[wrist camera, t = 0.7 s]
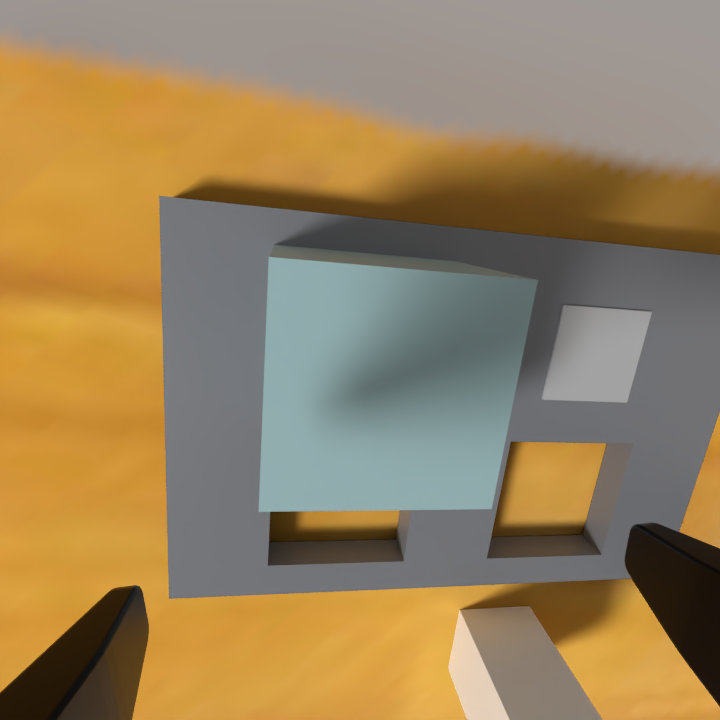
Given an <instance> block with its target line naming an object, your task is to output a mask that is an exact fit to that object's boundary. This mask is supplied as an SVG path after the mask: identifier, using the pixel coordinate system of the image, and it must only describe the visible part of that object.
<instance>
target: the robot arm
mask: <svg viewBox="0 0 720 720" xmlns="http://www.w3.org/2000/svg"><path fill="white" fill-rule="evenodd" d="M624 561H625V567H626V569H627V572H628V574H629V575H630V577H631V578H632V580H633V582H634V583H635V585H636V586H637V588H638V589H639V591H640V593H641V594H642V596H643V597H644V599H645V600H646V602H647V603H648V605H649V607H650V608H651V610H652V611H653V613H654V614H655V616H656V618H657V619H658V621H659V622H660V624H661V625H662V627H663V629H664V630H665V632H666V633H667V635H668V636H669V638H670V639H671V641H672V642H673V644H674V645H675V647H676V648H677V650H678V651H679V653H680V654H681V656H682V657H683V658H684V660H685V661H686V662H687V664H688V665H689V667H690V668H691V669H692V671H693V672H694V673H695V674H696V676H697V677H698V678H699V680H700V681H701V682H702V684H703V685H704V686H705V688H706V689H707V690H708V692H709V693H710V694H711V696H712V697H713V698H714V700H715V701H716V702H717V704H718V705H719V706H720V549H719V548H717V547H714V546H712V545H710V544H707V543H705V542H702V541H700V540H697V539H695V538H692V537H690V536H687V535H685V534H683V533H680V532H678V531H675V530H673V529H670V528H668V527H665V526H663V525H660V524H658V523H654V522H649V523H641V524H635V525H633V526H632V528H631V529H630V532H629V537H628V542H627V548H626V553H625V559H624ZM148 634H149V624H148V618H147V613H146V608H145V602H144V597H143V592H142V590H141V588H140V587H139V586H137V585H134V586H126V587H118V588H114V589H112V590H111V591H109V592H108V593H107V594H106V595H105V596H104V597H103V598H102V599H101V600H100V601H98V602H97V603H96V604H95V605H94V606H93V607H92V608H91V609H90V610H89V611H88V612H87V613H86V614H84V615H83V616H82V617H81V618H80V619H79V620H78V621H77V622H76V623H75V624H74V625H73V626H71V627H70V628H69V629H68V630H67V631H66V632H65V633H64V634H63V635H62V636H61V637H60V638H59V639H57V640H56V641H55V642H54V643H53V644H52V645H51V646H50V647H49V648H48V649H47V650H46V651H45V652H43V653H42V654H41V655H40V656H39V657H38V658H37V659H36V660H35V661H34V662H33V663H32V664H31V665H29V666H28V667H27V668H26V669H25V670H24V671H23V672H22V673H21V674H20V675H19V676H18V677H17V678H15V679H14V680H13V681H12V682H11V683H10V684H9V685H8V686H7V687H6V688H5V689H4V690H3V691H1V692H0V720H132V717H133V712H134V707H135V702H136V697H137V692H138V687H139V682H140V677H141V672H142V667H143V662H144V657H145V652H146V647H147V642H148Z"/></svg>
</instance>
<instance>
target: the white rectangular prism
mask: <svg viewBox="0 0 720 720" xmlns="http://www.w3.org/2000/svg"><path fill="white" fill-rule="evenodd" d="M448 669H449V672H450V675H451V677H452V680H453V683H454V686H455V688H456V691H457V694H458V696H459V699H460V702H461V704H462V707H463V710H464V713H465V715H466V718H467V720H602V718H601V717H600V715H599V714H598V712H597V711H596V709H595V708H594V706H593V704H592V703H591V701H590V700H589V698H588V697H587V695H586V693H585V692H584V690H583V689H582V687H581V686H580V684H579V683H578V681H577V679H576V678H575V676H574V675H573V673H572V672H571V670H570V668H569V667H568V665H567V664H566V662H565V661H564V659H563V658H562V656H561V654H560V653H559V651H558V650H557V648H556V647H555V645H554V643H553V642H552V640H551V639H550V637H549V636H548V634H547V633H546V631H545V629H544V628H543V626H542V625H541V623H540V622H539V620H538V618H537V617H536V615H535V614H534V612H533V611H532V609H531V608H530V606H520V607H501V608H482V609H463V610H459V615H458V621H457V626H456V631H455V636H454V641H453V646H452V651H451V657H450V662H449V667H448Z"/></svg>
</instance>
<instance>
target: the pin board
mask: <svg viewBox="0 0 720 720" xmlns="http://www.w3.org/2000/svg"><path fill="white" fill-rule="evenodd" d="M159 201H160V242H161V283H162V325H163V366H164V407H165V448H166V490H167V531H168V572H169V599H172V598H195V597H218V596H241V595H265V594H288V593H311V592H334V591H357V590H380V589H403V588H426V587H449V586H472V585H495V584H518V583H541V582H564V581H587V580H610V579H632V578H631V577H630V575H629V574H628V572H627V569H626V567H625V561H624V559H625V553H626V548H627V542H628V537H629V532H630V529H631V528H632V526H633V525H635V524H641V523H649V522H654V523H658V524H660V525H663V526H665V527H668V528H670V529H673V530H675V531H678V532H679V530H680V527H681V524H682V521H683V518H684V515H685V513H686V510H687V507H688V504H689V501H690V498H691V495H692V492H693V489H694V486H695V483H696V480H697V477H698V474H699V471H700V468H701V465H702V462H703V459H704V456H705V453H706V450H707V448H708V445H709V442H710V439H711V436H712V433H713V430H714V427H715V424H716V421H717V418H718V415H719V412H720V255H717V254H708V253H698V252H689V251H679V250H670V249H660V248H651V247H641V246H632V245H622V244H612V243H603V242H593V241H584V240H574V239H565V238H555V237H546V236H536V235H527V234H517V233H508V232H498V231H489V230H479V229H470V228H460V227H451V226H441V225H432V224H422V223H412V222H403V221H393V220H384V219H374V218H365V217H355V216H346V215H336V214H327V213H317V212H308V211H298V210H289V209H279V208H270V207H260V206H251V205H241V204H232V203H222V202H212V201H203V200H193V199H184V198H174V197H165V196H159ZM274 245H283V246H294V247H305V248H316V249H327V250H338V251H349V252H360V253H371V254H382V255H393V256H404V257H415V258H426V259H437V260H448V261H457V262H461V263H466V264H470V265H474V266H479V267H483V268H487V269H492V270H496V271H501V272H505V273H509V274H514V275H518V276H522V277H527V278H531V279H535V280H538V282H537V287H536V292H535V297H534V302H533V307H532V312H531V317H530V322H529V327H528V332H527V337H526V342H525V347H524V352H523V357H522V362H521V366H520V371H519V376H518V381H517V386H516V391H515V396H514V401H513V406H512V411H511V416H510V421H509V426H508V431H507V436H506V441H505V446H504V451H503V455H502V460H501V465H500V470H499V475H498V480H497V485H496V490H495V495H494V500H493V505H492V509H462V510H400V514H399V521H398V529H397V536H396V539H388V540H345V541H302V542H269V529H270V512H259V489H260V464H261V439H262V414H263V388H264V363H265V338H266V313H267V288H268V263H269V255H270V253H271V251H272V249H273V246H274ZM511 442H566V443H607V446H606V450H605V453H604V457H603V461H602V464H601V468H600V472H599V475H598V479H597V483H596V487H595V490H594V494H593V498H592V501H591V505H590V509H589V512H588V516H587V520H586V524H585V527H584V531H583V535H558V536H516V537H491V536H492V531H493V526H494V521H495V516H496V512H497V507H498V502H499V497H500V492H501V487H502V482H503V478H504V473H505V468H506V463H507V458H508V453H509V448H510V444H511Z"/></svg>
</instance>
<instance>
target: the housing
mask: <svg viewBox="0 0 720 720" xmlns="http://www.w3.org/2000/svg"><path fill="white" fill-rule="evenodd" d="M537 282H538V280H535V279H531V278H527V277H522V276H518V275H514V274H509V273H505V272H501V271H496V270H492V269H487V268H483V267H479V266H474V265H470V264H466V263H461V262H457V261H448V260H437V259H426V258H415V257H404V256H393V255H382V254H371V253H360V252H349V251H338V250H327V249H316V248H305V247H294V246H283V245H274V246H273V249H272V251H271V253H270V255H269V263H268V288H267V313H266V338H265V363H264V388H263V414H262V439H261V464H260V489H259V512H292V511H377V510H462V509H492V505H493V500H494V495H495V490H496V485H497V480H498V475H499V470H500V465H501V460H502V455H503V451H504V446H505V441H506V436H507V431H508V426H509V421H510V416H511V411H512V406H513V401H514V396H515V391H516V386H517V381H518V376H519V371H520V366H521V362H522V357H523V352H524V347H525V342H526V337H527V332H528V327H529V322H530V317H531V312H532V307H533V302H534V297H535V292H536V287H537Z"/></svg>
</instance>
